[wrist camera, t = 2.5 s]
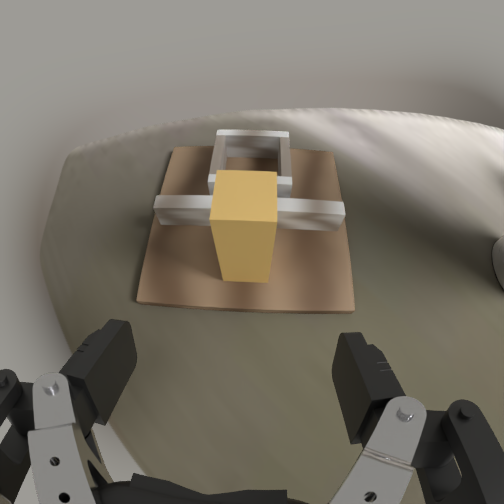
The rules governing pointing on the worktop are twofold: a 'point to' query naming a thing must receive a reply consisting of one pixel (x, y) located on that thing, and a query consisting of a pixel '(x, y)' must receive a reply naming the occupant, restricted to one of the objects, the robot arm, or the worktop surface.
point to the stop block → (244, 223)
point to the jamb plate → (286, 238)
